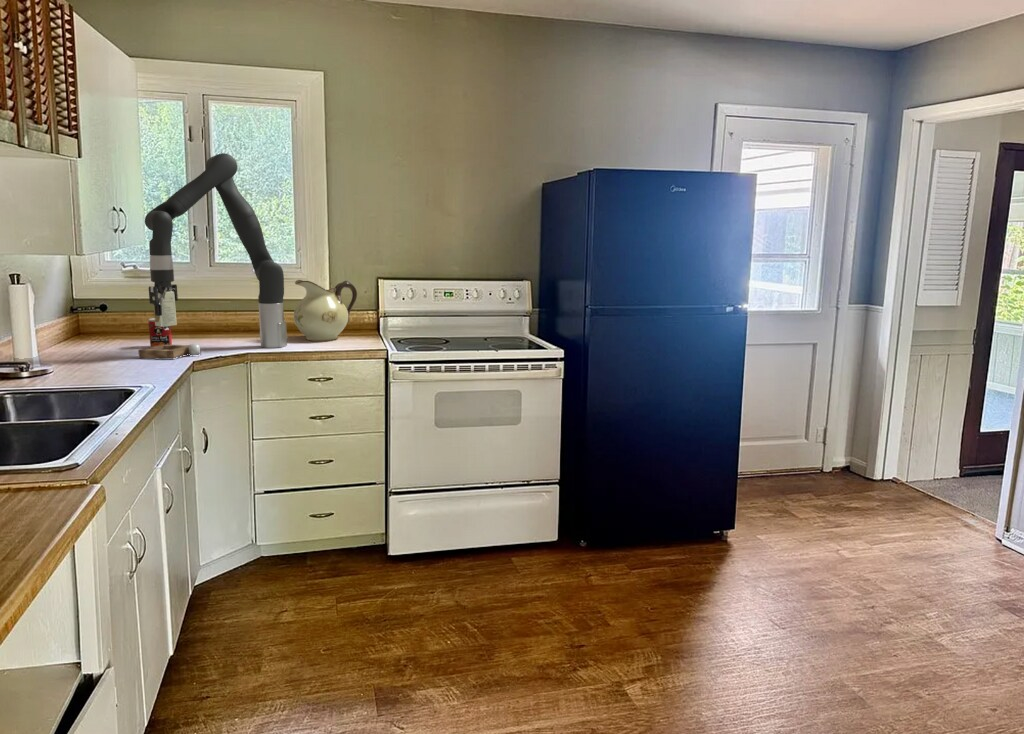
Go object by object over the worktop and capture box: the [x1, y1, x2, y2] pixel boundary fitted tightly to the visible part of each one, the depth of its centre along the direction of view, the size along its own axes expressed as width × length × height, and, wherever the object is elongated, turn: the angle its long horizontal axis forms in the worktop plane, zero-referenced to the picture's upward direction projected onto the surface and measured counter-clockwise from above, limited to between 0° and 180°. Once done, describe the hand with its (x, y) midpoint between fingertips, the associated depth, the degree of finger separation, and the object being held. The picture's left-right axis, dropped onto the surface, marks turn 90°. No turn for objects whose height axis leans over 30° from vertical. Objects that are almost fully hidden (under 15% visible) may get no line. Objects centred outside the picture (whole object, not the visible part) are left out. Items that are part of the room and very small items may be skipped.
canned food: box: [148, 317, 173, 347], centre depth 292 cm, size 8×8×11 cm
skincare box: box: [152, 291, 178, 327], centre depth 268 cm, size 6×4×12 cm
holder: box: [138, 344, 190, 359], centre depth 271 cm, size 13×14×3 cm
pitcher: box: [293, 279, 358, 342], centre depth 317 cm, size 22×24×25 cm
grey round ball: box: [188, 343, 201, 356], centre depth 272 cm, size 4×4×4 cm
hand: (165, 314), depth 269 cm, fingers closed on skincare box, 7 cm apart
